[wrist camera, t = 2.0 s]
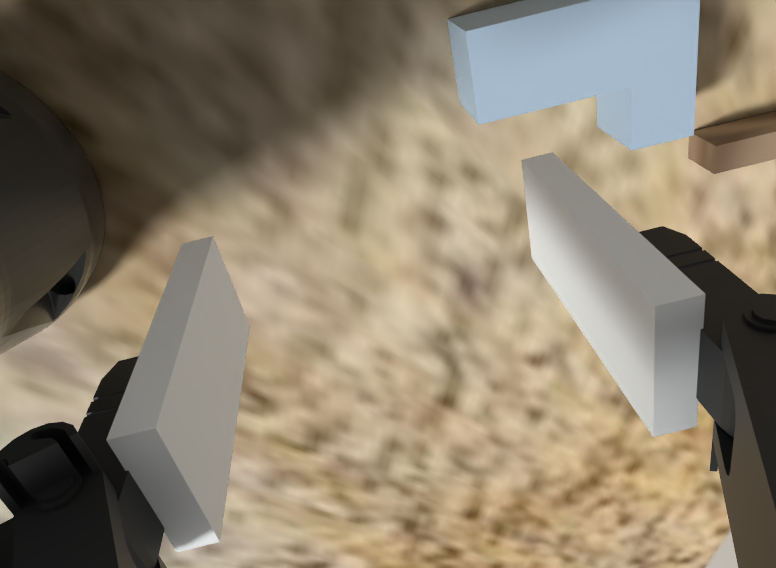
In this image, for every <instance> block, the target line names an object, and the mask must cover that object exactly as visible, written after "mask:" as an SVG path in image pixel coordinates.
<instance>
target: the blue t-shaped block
mask: <svg viewBox="0 0 776 568" xmlns="http://www.w3.org/2000/svg"><path fill="white" fill-rule="evenodd" d="M699 14H700V0H522V1H518V2H514V3H510V4H506V5H502V6H498V7H494V8H490V9H486V10H482V11H478V12H474V13H470V14H466V15H462V16H458V17H454V18H450V19H447V22H448V28H449V35H450V42H451V48H452V55H453V61H454V68H455V75H456V81H457V88H458V94H459V101H460V104H461V105H462V106H463V107H464V108H465V110H466V111H467V112H468V113H469V114H470V115H471V117H472V118H473V119H474V120H475V121H476V122H477V123H478V125H480V124H484V123H488V122H492V121H496V120H500V119H504V118H508V117H512V116H516V115H520V114H524V113H528V112H532V111H536V110H540V109H545V108H549V107H553V106H557V105H561V104H565V103H569V102H573V101H577V100H581V99H585V98H589V97H593V96H597V123H598V128H600V129H601V130H603V131H604V132H606V133H607V134H608V135H610V136H611V137H613V138H614V139H616V140H617V141H619V142H620V143H621V144H623V145H624V146H626V147H627V148H629V149H630V150H631V151H632V150H636V149H640V148H644V147H648V146H652V145H657V144H661V143H665V142H669V141H673V140H677V139H681V138H685V137H689V136H693V135H694V121H695V99H696V78H697V56H698V35H699Z"/></svg>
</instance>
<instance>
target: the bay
mask: <svg viewBox="0 0 776 568" xmlns="http://www.w3.org/2000/svg"><path fill="white" fill-rule="evenodd" d="M689 159H691V160H692V161H694V162H696V163H697V164H699V165H701V166H702V167H704V168H705V169H707V170H709V171H710V172H712V173H714V174H716V173H720V172H724V171H728V170H732V169H736V168H740V167H744V166H749V165H753V164H757V163H761V162H765V161H769V160H773V159H776V111H773V112H769V113H765V114H761V115H757V116H753V117H749V118H745V119H740V120H736V121H732V122H728V123H724V124H720V125H716V126H712V127H708V128H704V129H700V130H696V131H694V135H693V136H689Z"/></svg>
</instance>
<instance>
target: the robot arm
mask: <svg viewBox="0 0 776 568" xmlns="http://www.w3.org/2000/svg"><path fill="white" fill-rule="evenodd" d="M522 169H523V178H524V188H525V197H526V207H527V216H528V226H529V235H530V245H531V254H532V259H533V260H534V262H535V263H536V265H537V266H538V268H539V269H540V271H541V272H542V274H543V275H544V276H545V278H546V279H547V281H548V282H549V284H550V285H551V287H552V288H553V290H554V291H555V293H556V294H557V296H558V297H559V299H560V300H561V302H562V303H563V305H564V306H565V307H566V309H567V310H568V312H569V313H570V315H571V316H572V318H573V319H574V321H575V322H576V324H577V325H578V327H579V328H580V330H581V331H582V333H583V334H584V336H585V337H586V339H587V340H588V341H589V343H590V344H591V346H592V347H593V349H594V350H595V352H596V353H597V355H598V356H599V358H600V359H601V361H602V362H603V364H604V365H605V367H606V368H607V370H608V371H609V373H610V374H611V375H612V377H613V378H614V380H615V381H616V383H617V384H618V386H619V387H620V389H621V390H622V392H623V393H624V395H625V396H626V398H627V399H628V401H629V402H630V404H631V405H632V407H633V408H634V409H635V411H636V412H637V414H638V415H639V417H640V418H641V420H642V421H643V423H644V424H645V426H646V427H647V429H648V430H649V432H650V433H651V435H652V436H653V437H656V436H660V435H664V434H668V433H673V432H677V431H681V430H685V429H689V428H693V427H697V417H698V401H699V402H700V403H701V404H702V405H703V407H704V408H705V409H706V410H707V412H708V413H709V414H710V415H711V416H712V418H713V419H714V428H713V439H712V451H711V463H710V471H717V469H719V474H720V479H721V484H722V488H723V493H724V498H725V503H726V508H727V513H728V518H729V523H730V528H731V533H732V538H733V543H734V548H735V553H736V558H737V563H738V567H739V568H776V295H774V294H758V293H757V292H755V291H754V290H753V289H752V288H751V287H749V286H748V285H747V284H746V283H744V282H743V281H742V280H741V279H739V278H738V277H737V276H736V275H735V274H733V273H732V272H731V271H730V270H728V269H727V268H726V267H725V266H724V265H722V264H721V263H720V262H719V261H715V258H714V257H713V256H711V255H710V254H709V253H708V252H706V251H705V250H704V251H703V250H702V247H700V246H699V245H698V244H697V243H695V242H694V241H693V240H692V239H691V238H689V237H688V236H687V235H685V234H682V233H680V232H677V231H674V230H671V229H669V228H666V227H663V226H662V227H657V228H653V229H649V230H645V231H641V232H638V231H637V230H636V229H635V228H634V227H633V226H632V225H630V224H629V223H628V222H627V221H626V220H625V219H624V218H623V217H622V216H621V215H620V214H619V213H617V212H616V211H615V210H614V209H613V208H612V207H611V206H610V205H609V204H608V203H607V202H606V201H604V200H603V199H602V198H601V197H600V196H599V195H598V194H597V193H596V192H595V191H594V190H593V189H592V188H590V187H589V186H588V185H587V184H586V183H585V182H584V181H583V180H582V179H581V178H580V177H579V176H577V175H576V174H575V173H574V172H573V171H572V170H571V169H570V168H569V167H568V166H567V165H566V164H565V163H563V162H562V161H561V160H560V159H559V158H558V157H557V156H556V155H555V154H554V153H553V152H552V153H548V154H544V155H540V156H536V157H532V158H528V159H524V160H522ZM104 231H105V216H104V207H103V202H102V197H101V193H100V189H99V186H98V183H97V180H96V177H95V175H94V172H93V170H92V168H91V166H90V164H89V162H88V160H87V158H86V156H85V154H84V153H83V151H82V149H81V148H80V146H79V145H78V143H77V142H76V140H75V139H74V137H73V136H72V135H71V133H70V132H69V131H68V129H67V128H66V127H65V126H64V124H63V123H62V122H61V121H60V120H59V119H58V118H57V117H56V116H55V114H54V113H53V112H52V111H51V110H50V109H49V108H48V107H46V106H45V105H44V104H43V103H42V102H41V101H40V100H39V99H38V98H36V97H35V96H34V95H33V94H32V93H31V92H29V91H28V90H27V89H25V88H24V87H23V86H21V85H20V84H19V83H17V82H16V81H14V80H13V79H11V78H10V77H8V76H7V75H5V74H3V73H1V72H0V354H1V353H3V352H5V351H7V350H9V349H10V348H12V347H14V346H16V345H17V344H19V343H21V342H23V341H24V340H26V339H28V338H30V337H31V336H33V335H35V334H37V333H38V332H40V331H42V330H43V329H45V328H46V327H48V326H49V325H51V324H52V323H53V322H54V321H56V320H57V319H58V318H59V317H60V316H61V315H62V314H63V313H64V312H65V311H66V310H67V309H68V308H69V307H70V306H71V305H72V304H73V302H74V301H75V300H76V298H77V297H78V296H79V294H80V292H81V291H82V289H83V288H84V286H85V284H86V283H87V281H88V280H89V278H90V276H91V275H92V273H93V271H94V269H95V267H96V265H97V263H98V260H99V257H100V254H101V250H102V246H103V241H104ZM249 330H250V326H249V323H248V321H247V318H246V316H245V313H244V311H243V308H242V306H241V304H240V301H239V299H238V296H237V294H236V291H235V289H234V286H233V284H232V281H231V279H230V277H229V274H228V272H227V269H226V267H225V264H224V262H223V259H222V257H221V254H220V252H219V249H218V247H217V245H216V242H215V240H214V237H213V236H212V237H208V238H203V239H199V240H195V241H191V242H187V243H183V244H182V246H181V249H180V251H179V254H178V256H177V259H176V262H175V264H174V267H173V269H172V272H171V275H170V277H169V280H168V282H167V285H166V287H165V290H164V293H163V295H162V298H161V300H160V303H159V305H158V308H157V311H156V313H155V316H154V318H153V321H152V323H151V326H150V329H149V331H148V334H147V336H146V339H145V341H144V344H143V347H142V349H141V352H140V354H139V356H138V357H134V358H130V359H126V360H122V361H118V362H117V364H116V365H115V366H114V367H113V368H112V369H111V370H110V371H109V372H108V373H107V374H106V375H105V377H104V378H103V379H102V380H101V382H100V384H99V386H98V389H97V391H96V393H95V395H94V398H93V399H94V402H91V404H90V406H89V409H88V411H87V413H86V414H87V417H85V418H84V420H83V422H82V424H81V426H80V429H79V431H78V432H77V431H76V429H75V428H74V426H73V425H71V424H68V423H65V422H57V423H48V424H45V425H42V426H39V427H37V428H34V429H31V430H29V431H28V432H26V433H24V434H22V435H21V436H19V437H17V438H15V439H14V440H13V441H11V442H10V443H9V444H8V445H7V446H5V447H4V448H3V449H2V450H0V499H1V500H2V501H3V502H4V504H5V505H6V506H7V507H8V509H9V510H10V511H11V512H12V514H13V515H14V517H13V518H12V519H10V520H8V521H6V522H4V523H2V524H0V568H166V566H165V564H164V563H163V561H162V560H161V558H160V557H159V555H158V554H159V550H160V546H161V542H162V537H163V533H164V532H165V534H166V536H167V537H168V539H169V540H170V542H171V544H172V545H173V547H174V548H175V550H176V551H177V552H180V551H184V550H188V549H192V548H196V547H200V546H204V545H209V544H213V543H217V542H220V537H221V530H222V523H223V515H224V508H225V501H226V494H227V487H228V480H229V473H230V466H231V458H232V451H233V444H234V437H235V430H236V423H237V416H238V409H239V401H240V394H241V387H242V380H243V373H244V366H245V359H246V352H247V344H248V337H249Z"/></svg>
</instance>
